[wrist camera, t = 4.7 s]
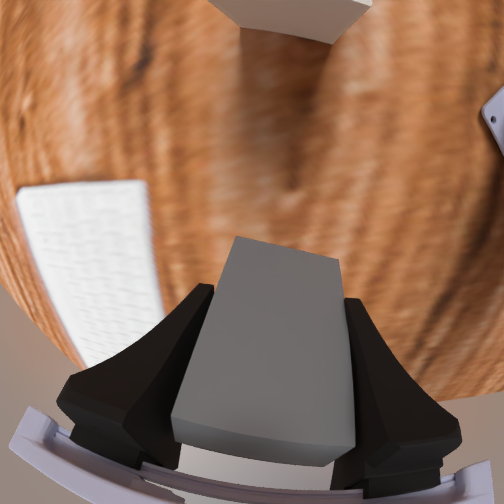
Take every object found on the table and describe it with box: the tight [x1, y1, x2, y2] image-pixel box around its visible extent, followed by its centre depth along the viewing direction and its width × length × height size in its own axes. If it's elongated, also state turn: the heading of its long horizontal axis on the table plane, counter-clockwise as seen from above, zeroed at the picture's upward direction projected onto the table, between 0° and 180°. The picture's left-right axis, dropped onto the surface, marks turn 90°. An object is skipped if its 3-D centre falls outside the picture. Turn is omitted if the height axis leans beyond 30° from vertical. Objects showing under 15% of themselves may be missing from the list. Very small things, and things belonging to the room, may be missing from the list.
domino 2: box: [171, 236, 355, 467], centre depth 11 cm, size 2×5×9 cm, turn 80°
